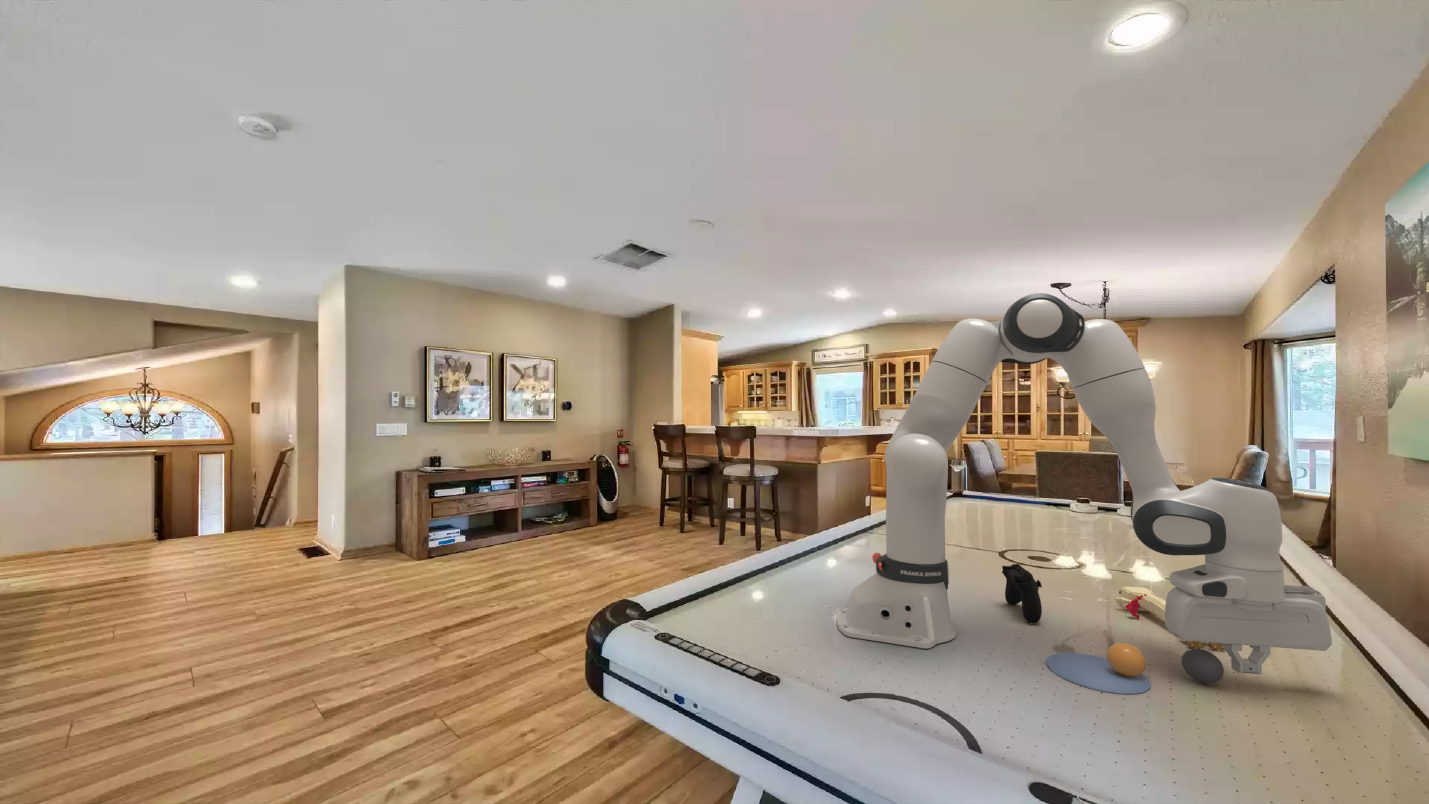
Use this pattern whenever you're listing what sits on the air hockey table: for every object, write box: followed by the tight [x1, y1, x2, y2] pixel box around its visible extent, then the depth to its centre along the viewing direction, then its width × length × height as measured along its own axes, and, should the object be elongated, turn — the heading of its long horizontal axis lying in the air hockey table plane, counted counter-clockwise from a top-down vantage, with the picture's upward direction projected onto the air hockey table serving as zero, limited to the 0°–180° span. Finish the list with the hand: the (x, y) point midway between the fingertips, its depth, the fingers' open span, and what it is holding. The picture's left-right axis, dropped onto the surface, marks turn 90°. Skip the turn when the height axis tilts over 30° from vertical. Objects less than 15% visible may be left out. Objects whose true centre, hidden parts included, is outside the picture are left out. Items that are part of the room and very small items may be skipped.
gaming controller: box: [1001, 563, 1043, 625], centre depth 115 cm, size 14×6×10 cm, turn 168°
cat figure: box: [1114, 586, 1226, 652], centre depth 108 cm, size 10×9×25 cm
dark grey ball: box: [1180, 648, 1225, 685], centre depth 85 cm, size 5×5×5 cm
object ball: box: [1106, 642, 1147, 677], centre depth 87 cm, size 5×5×5 cm
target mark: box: [1045, 652, 1152, 695], centre depth 88 cm, size 14×14×1 cm
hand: (1246, 672), depth 83 cm, fingers closed
